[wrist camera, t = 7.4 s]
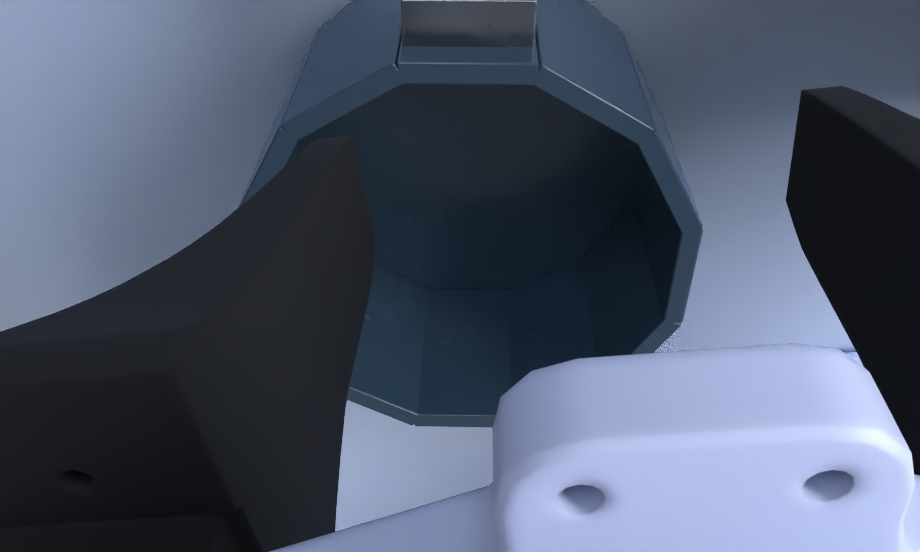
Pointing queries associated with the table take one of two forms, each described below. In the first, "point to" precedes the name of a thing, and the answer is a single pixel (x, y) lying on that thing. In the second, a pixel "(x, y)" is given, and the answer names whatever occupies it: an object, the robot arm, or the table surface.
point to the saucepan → (495, 195)
